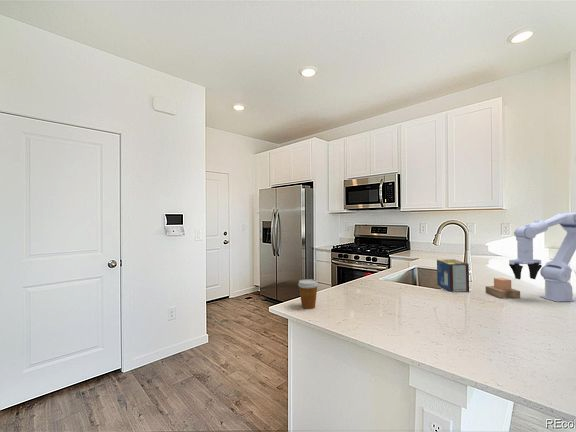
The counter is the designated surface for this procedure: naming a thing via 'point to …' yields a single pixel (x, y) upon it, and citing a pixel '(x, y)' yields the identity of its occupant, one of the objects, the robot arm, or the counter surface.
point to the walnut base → (502, 293)
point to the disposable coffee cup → (308, 293)
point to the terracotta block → (502, 283)
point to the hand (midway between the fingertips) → (525, 278)
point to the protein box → (453, 275)
